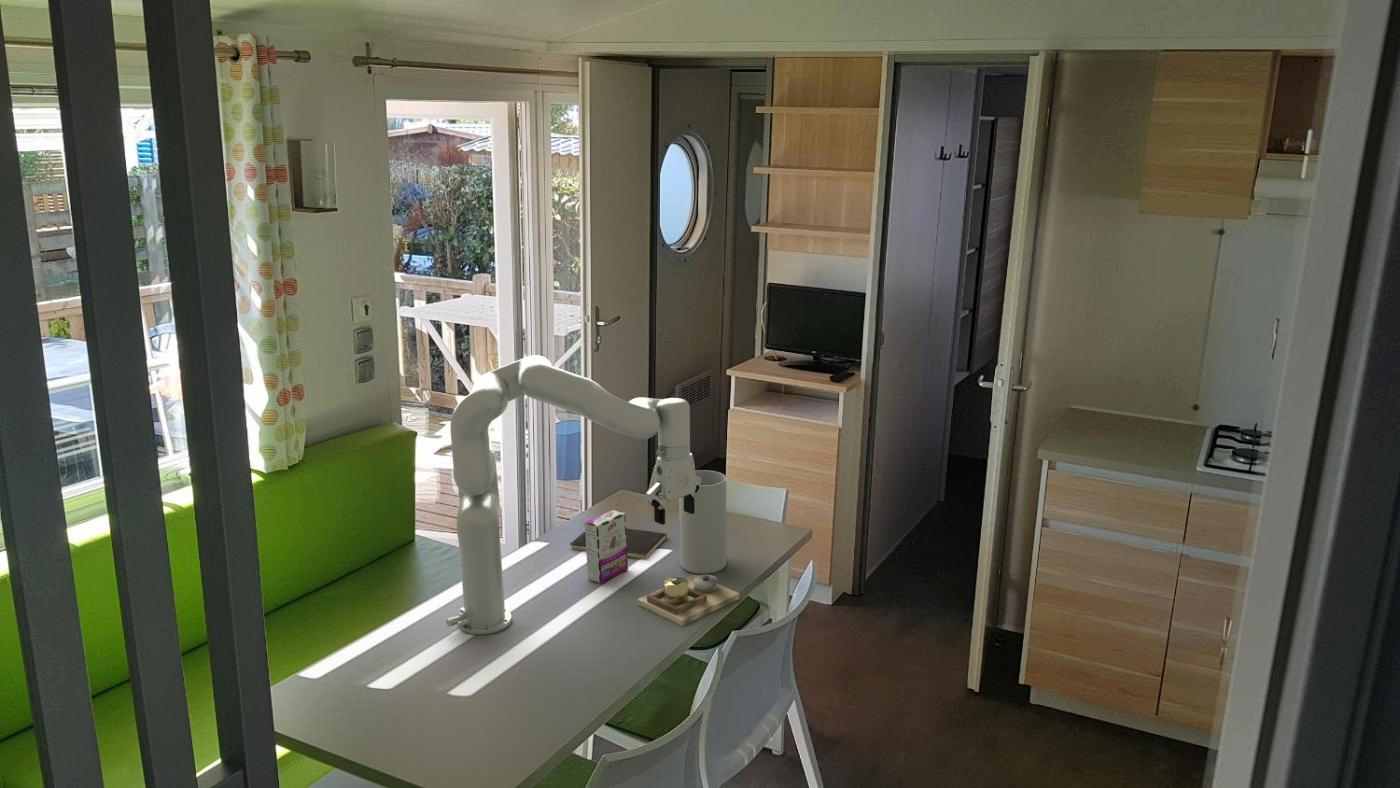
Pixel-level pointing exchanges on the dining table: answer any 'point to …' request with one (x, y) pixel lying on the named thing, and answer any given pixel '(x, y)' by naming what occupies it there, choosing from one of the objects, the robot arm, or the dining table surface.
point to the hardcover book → (631, 542)
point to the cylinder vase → (705, 526)
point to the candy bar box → (606, 546)
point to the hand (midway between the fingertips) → (674, 517)
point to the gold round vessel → (676, 591)
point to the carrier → (691, 600)
